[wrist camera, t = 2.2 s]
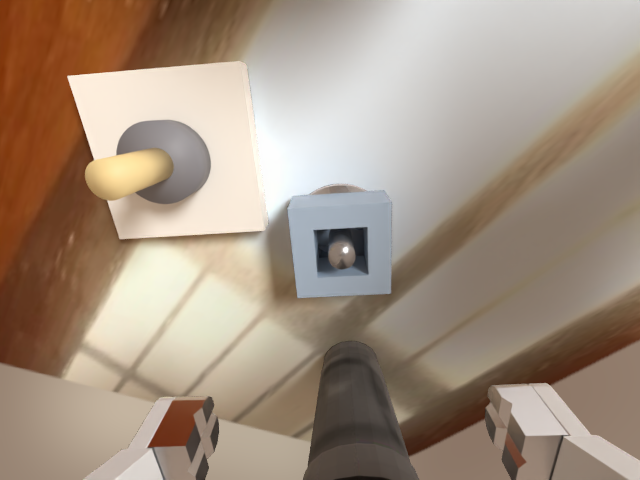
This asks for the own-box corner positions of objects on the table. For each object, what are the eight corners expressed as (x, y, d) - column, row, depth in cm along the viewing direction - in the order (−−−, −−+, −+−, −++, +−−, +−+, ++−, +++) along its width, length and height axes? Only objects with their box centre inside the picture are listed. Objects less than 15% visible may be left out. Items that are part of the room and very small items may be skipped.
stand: (390, 180, 22) (403, 195, 18) (389, 273, 24) (400, 305, 20) (285, 187, 22) (276, 203, 18) (295, 278, 25) (289, 310, 21)
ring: (383, 190, 21) (391, 202, 19) (383, 271, 24) (390, 293, 21) (292, 196, 22) (287, 208, 19) (301, 276, 24) (297, 297, 21)
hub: (246, 64, 19) (194, 35, 12) (268, 223, 23) (239, 277, 16) (85, 78, 20) (-60, 59, 12) (132, 231, 24) (41, 287, 16)
